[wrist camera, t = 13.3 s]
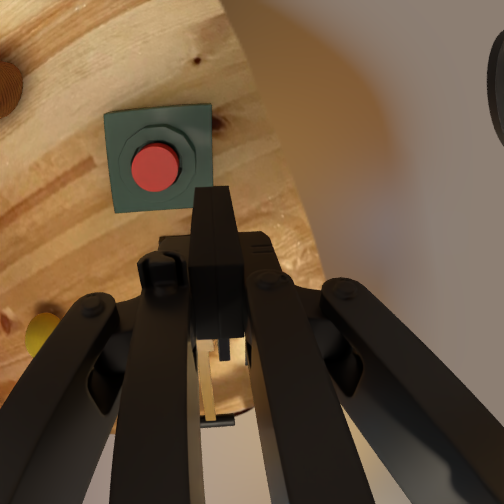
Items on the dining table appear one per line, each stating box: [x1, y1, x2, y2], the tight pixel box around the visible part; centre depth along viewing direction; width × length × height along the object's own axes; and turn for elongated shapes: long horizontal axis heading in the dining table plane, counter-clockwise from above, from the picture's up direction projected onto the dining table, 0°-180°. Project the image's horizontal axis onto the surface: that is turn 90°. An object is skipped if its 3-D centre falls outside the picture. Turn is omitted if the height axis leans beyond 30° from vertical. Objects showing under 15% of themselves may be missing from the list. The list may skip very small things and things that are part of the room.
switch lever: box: [196, 338, 235, 428], centre depth 30 cm, size 13×5×2 cm, turn 179°
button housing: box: [104, 103, 213, 213], centre depth 28 cm, size 10×10×4 cm
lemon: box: [25, 313, 61, 358], centre depth 34 cm, size 6×6×8 cm
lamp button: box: [131, 143, 179, 192], centre depth 26 cm, size 4×4×2 cm
